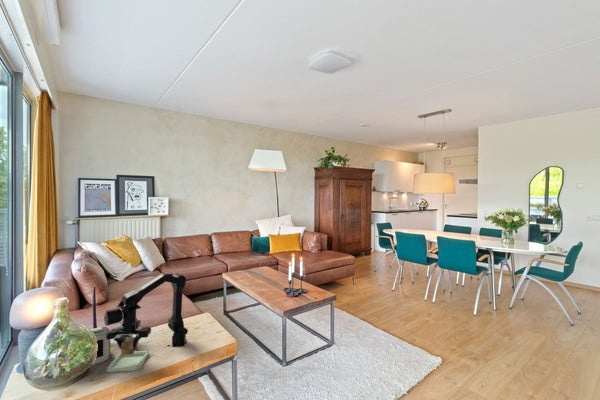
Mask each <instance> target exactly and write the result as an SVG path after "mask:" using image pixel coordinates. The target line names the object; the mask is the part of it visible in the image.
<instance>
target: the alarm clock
mask: <svg viewBox="0 0 600 400" xmlns="http://www.w3.org/2000/svg"><path fill="white" fill-rule="evenodd" d="M89 329H90V330H91V331H92V332H93V333H94V334H95V336H96V338H97V343H98V351H97V357H96V360H95V362H94V364H93V365H92V366H95V365H98V364H102V363H105V362H106V361H108V360H109V359H110V356H111V339H106V336H107V334H108V333H109V332H110V331H111V330H110V328H109V327H107V326H100V327H95V328H89Z"/></svg>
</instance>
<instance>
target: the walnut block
mask: <svg viewBox="0 0 600 400" xmlns="http://www.w3.org/2000/svg"><path fill="white" fill-rule="evenodd" d="M135 337H136V336H133V337H131V338H126V339H125V340H124V341H123V342H122V349H121V352H122V354H121V355H128V354H133V353H134V352H136V351H137V347H136V349H135V350H134V338H135Z"/></svg>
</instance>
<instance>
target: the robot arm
mask: <svg viewBox="0 0 600 400" xmlns="http://www.w3.org/2000/svg"><path fill="white" fill-rule="evenodd" d="M186 281H187V277H186V276H184V275H182V274H181V273H174V274H173V273H165V272H162V273H160V274H159V275H157V276H156V277H155V278H153V279H151V280H150V281H148V282H146V284H143V285H142V286H141V287H139V288H137V289H133V290H131V291H128V292H126V293H125V294H124V295H122V298H121V300H120V301H119V303H118V305H117V306H116V308H114V309H107V310H106V311H105V314H104V316H103V321H104V324H105V327H107V326H111V325H114V324H119V323H120V322H122V321H123V323H122V326H123V331H121V329H120V328H119V329H117V328H112V329H111V330H109V331H110V332H109V333H108V334H107V336H106V339H110V340H113V341H114V342H116V344H117V343H118V344H119V345H118V344H117V345H118V346H119V347H120V349H121V350H122V342H123V341H124V337H125V335H133V336H134V337H135V338H134V350H135V349H136V347H137V346H138V344H139V341H140V340H141V339H142V338H148V337H149V335H150V334H151V333H152V328H151V327H150V326H145V327H142V328H141V329H139V328H140V327H141V322H142V321H141V320H140V319H138V318H137V310H138V309H141V308H142V307H141V306H140V305H139V304H138V303H140V302H141V301H142V300H143V298H144V297H145V296H146V295H148V294H149V293H151V292H152V291H154V290H155V289H156V288H158V287H159V286H161V285H163V284H164V283H170V284H171V287H172V290H173V296H172V315H171V317H170V318H168V319H167V321H168V322H167V327H168V328H169V329H170V331H172V333H173V335H172V336H171V344H172V345H171V347H184V346H185V345H186V343H187V341H188V340H187V334H188V332H189V329H187V328H186V327H185V323H184V318H183V315H182V310H183V309H182V307H183V306H182V305H183V290H184V288H185V287H186V283H187V282H186ZM138 329H139V330H138ZM136 350H137V349H136ZM136 350H135V351H136Z"/></svg>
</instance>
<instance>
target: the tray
mask: <svg viewBox="0 0 600 400" xmlns="http://www.w3.org/2000/svg"><path fill="white" fill-rule="evenodd" d="M121 354H122V351H120V352H119V353H118V354H117V355H116V356H115V358H114V359H113V360H112V362H111V363H110V364H109V365H108V366H107V367H106V368H105V369H106V370H105V371H106V372H105V373H116V372H132V371H139V370H140V368H141V366H142V365H143V364H144V363H145V360H146V359H147V358H148V356H149V355H150V351H149V350H142V351H141V350H140V351H138V350H135V352H134V353H133V354H128V355H121Z"/></svg>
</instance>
